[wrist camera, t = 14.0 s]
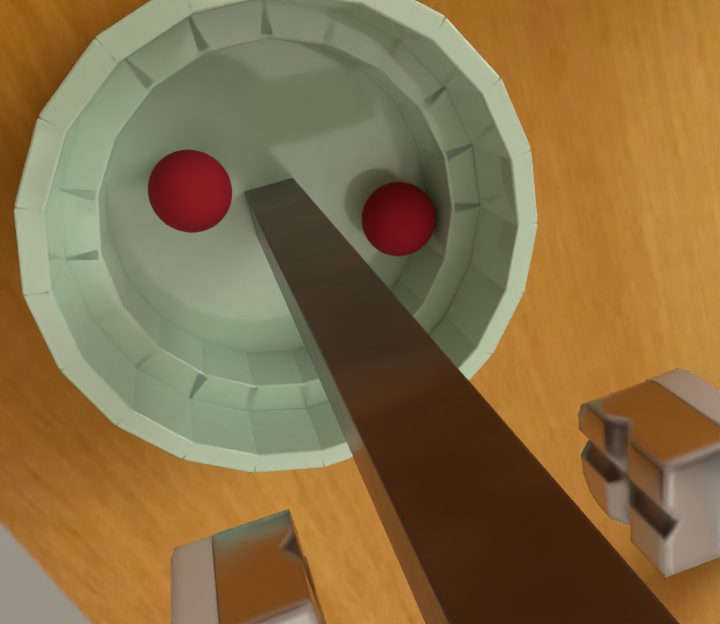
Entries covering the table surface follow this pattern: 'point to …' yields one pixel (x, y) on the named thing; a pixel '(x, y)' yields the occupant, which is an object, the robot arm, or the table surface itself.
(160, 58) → the bowl
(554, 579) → the stirring stick
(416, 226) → the berry
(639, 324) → the table surface
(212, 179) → the berry
